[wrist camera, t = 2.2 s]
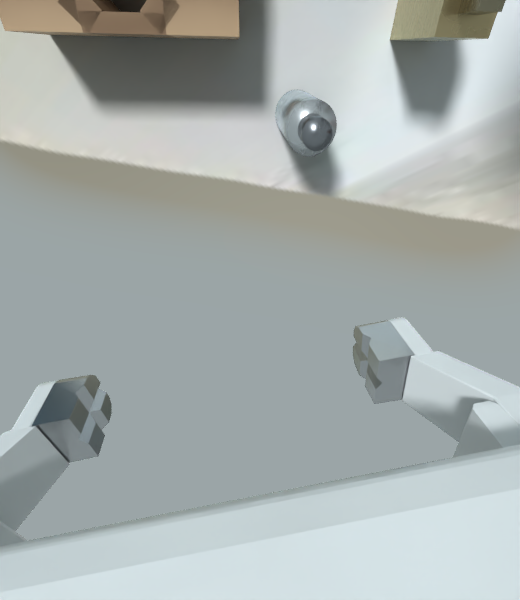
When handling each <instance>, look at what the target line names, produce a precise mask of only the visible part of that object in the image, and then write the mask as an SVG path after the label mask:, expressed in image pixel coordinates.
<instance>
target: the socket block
mask: <svg viewBox="0 0 520 600" xmlns="http://www.w3.org/2000/svg"><path fill="white" fill-rule="evenodd" d="M140 12H141V13H140ZM140 12H121V11H120V10H119V9H118V8H117V7H116V5H115V4H114V3H113V2H112V1H111V0H0V18H1V21H2V24H3V27H4V29H5V31H14V32H25V33H36V34H47V35H81V36H121V37H160V38H200V39H238V38H239V0H146V2H145V4H144V5H143V7H142V8H141V10H140Z"/></svg>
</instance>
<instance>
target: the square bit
mask: <svg viewBox="0 0 520 600" xmlns="http://www.w3.org/2000/svg"><path fill="white" fill-rule="evenodd" d="M504 3H505V0H398V4H397V9H396V13H395V18H394V23H393V28H392V33H391V37H390V40H405V41H448V40H468V39H488V38H489V35H490V32H491V29H492V26H493V24H494V21H495V18H496V15H497V12H501V11H502V9H503V6H504Z"/></svg>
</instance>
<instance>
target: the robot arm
mask: <svg viewBox="0 0 520 600" xmlns="http://www.w3.org/2000/svg"><path fill="white" fill-rule="evenodd" d="M354 338H355V340H356V341H357V342H356V344H355V345H354V346H353V357H354V363H355V365H356V368H357V371H358V373H359V375H360V376H362V377H363V378H365V379H366V386H365V387H366V388H367V391H368V392H369V394H370V396H371V398H372V400H373V402H374V404H376V403H383V402H389V401H395V400H401V399H402V401H403V402H405V403H406V404H407V405H409V406H410V407H411V408H413V409H414V410H416V411H417V412H418V413H420V414H421V415H422V416H424V417H425V418H426V419H428V420H429V421H431V422H432V423H433V424H435V425H436V426H438V427H439V428H440V429H441V430H443V431H444V432H446V433H447V434H448V435H450V436H451V437H452V438H454V439H455V440H456V441H458V442H459V443H458V446H457V448H456V451H455V453H454V456H453V457H452V458H447V459H442V460H437V461H432V462H427V463H422V464H417V465H412V466H407V467H401V468H397V469H391V470H386V471H382V472H376V473H371V474H366V475H361V476H355V477H350V478H345V479H340V480H335V481H330V482H325V483H319V484H315V485H310V486H304V487H299V488H294V489H289V490H284V491H279V492H273V493H269V494H263V495H259V496H253V497H248V498H243V499H238V500H233V501H227V502H222V503H218V504H212V505H207V506H202V507H197V508H192V509H188V510H182V511H177V512H172V513H167V514H161V515H156V516H151V517H146V518H141V519H136V520H131V521H126V522H121V523H115V524H110V525H105V526H100V527H96V528H90V529H85V530H80V531H75V532H69V533H64V534H60V535H54V536H50V537H44V538H39V539H34V540H29V541H27V540H26V539H25V538H24V537H22V536H21V535H19V534H18V533H16V532H15V531H16V530H17V529H18V527H19V526H20V525H21V524H22V522H23V521H24V520H25V519H26V518H27V516H28V515H29V514H30V513H31V511H32V510H33V509H34V508H35V506H36V505H37V504H38V503H39V501H40V500H41V499H42V498H43V496H44V495H45V494H46V493H47V491H48V490H49V489H50V488H51V486H52V485H53V484H54V483H55V482H56V480H57V479H58V478H59V477H60V475H61V474H62V473H63V472H64V470H65V469H66V468H67V467H68V465H69V463H70V462H74V461H79V460H83V459H88V458H93V457H97V456H99V453H100V449H101V446H102V443H103V440H104V437H105V435H104V433H103V431H102V429H103V428H104V427H105V426H106V425H107V424H108V423H109V420H110V417H111V401H110V398H109V396H108V394H107V393H106V392H105V391H103V390H101V389H99V385H100V382H99V380H98V379H97V377H96V376H95V375H87V376H81V377H74V378H68V379H62V380H58V381H52V382H45V383H42V384H40V385H39V386H37V388H36V390H35V391H34V393H33V395H32V396H31V398H30V400H29V401H28V403H27V405H26V406H25V408H24V410H23V411H22V413H21V415H20V416H19V418H18V420H17V421H16V423H15V425H14V426H13V429H12V430H11V431H7V432H5V433H3V434H2V435H1V436H0V600H520V387H518V386H516V385H514V384H512V383H510V382H507V381H505V380H503V379H501V378H498V377H496V376H494V375H491V374H489V373H487V372H485V371H483V370H480V369H478V368H476V367H474V366H471V365H469V364H467V363H465V362H462V361H460V360H458V359H456V358H453V357H451V356H449V355H447V354H445V353H442V352H440V351H436V352H434V351H433V350H432V349H431V348H430V346H429V345H428V344H427V343H426V342H425V341H424V339H423V338H422V337H421V336H420V335H419V333H418V332H417V331H416V330H415V329H414V328H413V326H412V325H411V324H410V323H409V322H408V321H407V320H406V318H404V317H400V318H395V319H390V320H387V321H381V322H376V323H370V324H366V325H360V326H356V327H355V329H354Z"/></svg>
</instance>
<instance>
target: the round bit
mask: <svg viewBox="0 0 520 600" xmlns="http://www.w3.org/2000/svg"><path fill="white" fill-rule="evenodd" d="M275 118H276V123H277V125H278V127H279V129H280V130H281V132H282V133H283V135H284V136H285V138H286V140H287V141H288V143H289V144H290V146H291V147H292V149H293V150H294V151H296V152H297V153H299V154H301V155H304V156H313V155H317V154H319V153H321V152H323V151H324V150H325V149H326V148H327V147H328V146H329V145H330V144H331V142H332V140H333V138H334V136H335V133H336V126H337V123H336V117H335V114H334V111H333V110H332V108H331V107H330V106H329V105H328V104H327V103H325V102H323V101H322V100H320V99H318V98H316V97H314V96H312V95H311V94H309V93H307V92H305V91H303V90H291V91H289V92H287V93H286V94H284V95H283V96H282V97H281V99H280V100H279V102H278V104H277V107H276V112H275Z"/></svg>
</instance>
